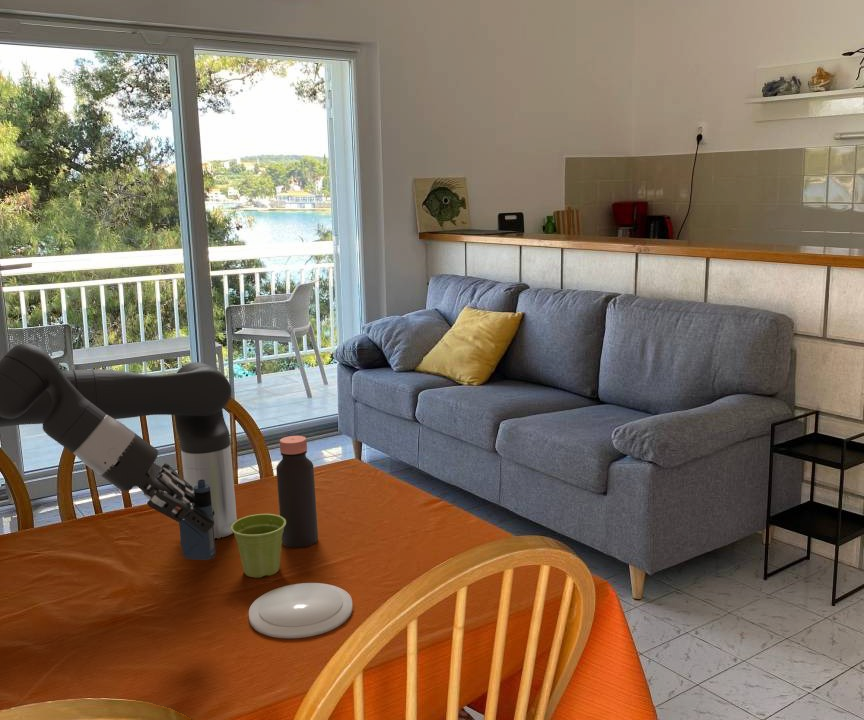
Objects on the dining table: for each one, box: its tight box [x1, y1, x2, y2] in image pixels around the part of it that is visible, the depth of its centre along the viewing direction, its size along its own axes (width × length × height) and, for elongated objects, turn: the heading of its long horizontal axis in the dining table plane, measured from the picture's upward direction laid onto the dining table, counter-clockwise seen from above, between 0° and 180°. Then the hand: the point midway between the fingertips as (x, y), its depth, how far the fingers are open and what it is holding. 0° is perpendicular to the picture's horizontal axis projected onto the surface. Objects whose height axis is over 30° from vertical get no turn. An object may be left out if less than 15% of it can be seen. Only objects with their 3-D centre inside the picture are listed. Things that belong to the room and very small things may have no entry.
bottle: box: [276, 435, 319, 549], centre depth 159 cm, size 7×7×20 cm
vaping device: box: [178, 479, 217, 561], centre depth 127 cm, size 3×5×12 cm, turn 78°
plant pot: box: [231, 513, 286, 579], centre depth 148 cm, size 9×9×9 cm
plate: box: [248, 582, 353, 639], centre depth 134 cm, size 16×16×1 cm
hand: (210, 522), depth 128 cm, fingers closed on vaping device, 3 cm apart
